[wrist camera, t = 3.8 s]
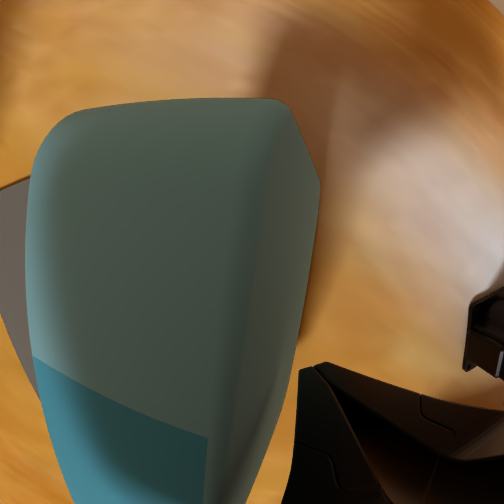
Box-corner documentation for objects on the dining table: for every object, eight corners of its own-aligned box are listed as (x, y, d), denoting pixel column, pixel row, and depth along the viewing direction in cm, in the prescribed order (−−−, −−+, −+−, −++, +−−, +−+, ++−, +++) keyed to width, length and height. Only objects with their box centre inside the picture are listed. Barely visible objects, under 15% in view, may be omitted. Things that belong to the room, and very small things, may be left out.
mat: (161, 137, 15) (160, 136, 15) (234, 424, 19) (234, 427, 18) (-25, 203, 14) (-28, 203, 13) (68, 442, 17) (67, 444, 17)
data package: (234, 171, 16) (41, 93, 4) (322, 181, 15) (277, 60, 3) (209, 382, 17) (80, 522, 6) (284, 401, 16) (208, 583, 5)
